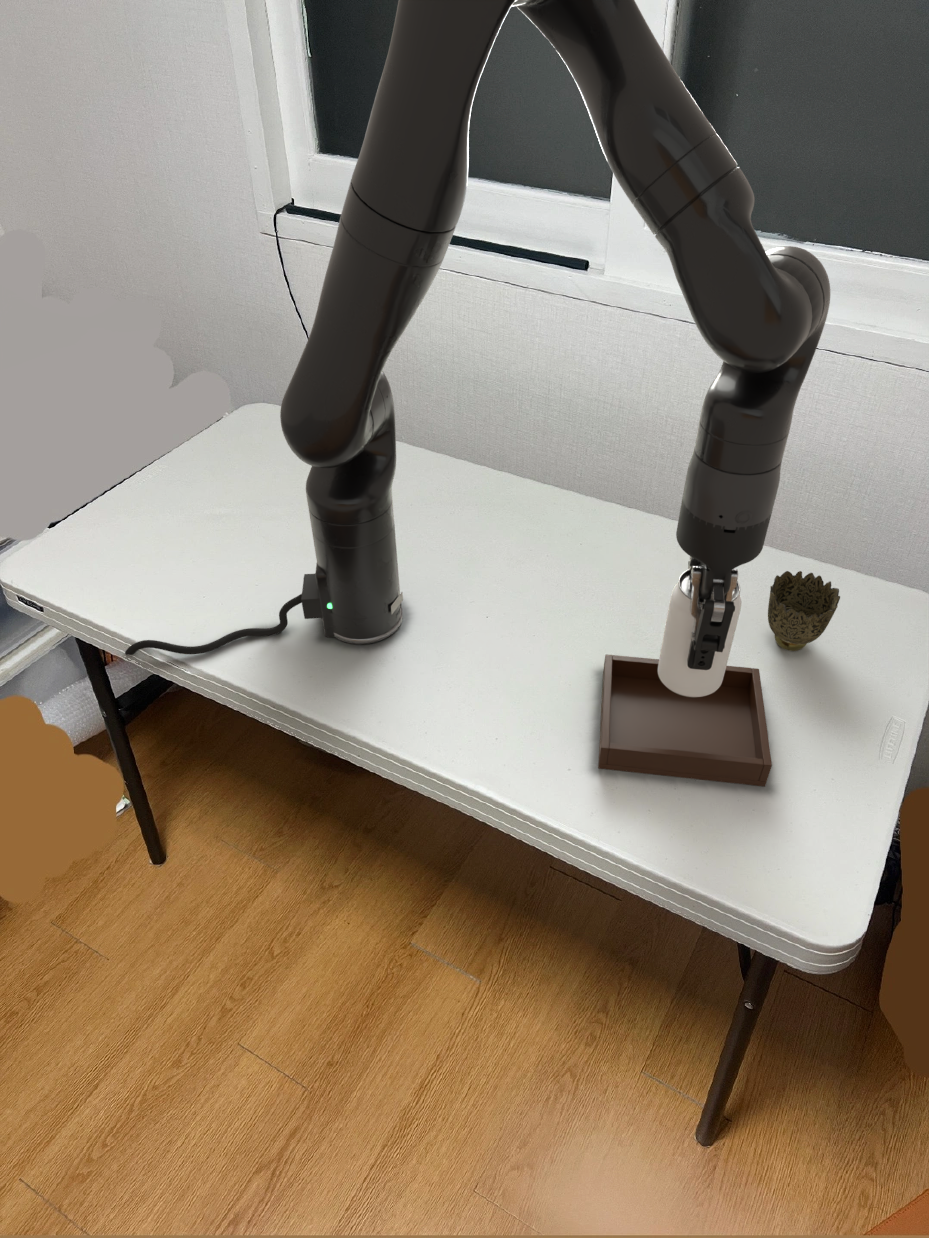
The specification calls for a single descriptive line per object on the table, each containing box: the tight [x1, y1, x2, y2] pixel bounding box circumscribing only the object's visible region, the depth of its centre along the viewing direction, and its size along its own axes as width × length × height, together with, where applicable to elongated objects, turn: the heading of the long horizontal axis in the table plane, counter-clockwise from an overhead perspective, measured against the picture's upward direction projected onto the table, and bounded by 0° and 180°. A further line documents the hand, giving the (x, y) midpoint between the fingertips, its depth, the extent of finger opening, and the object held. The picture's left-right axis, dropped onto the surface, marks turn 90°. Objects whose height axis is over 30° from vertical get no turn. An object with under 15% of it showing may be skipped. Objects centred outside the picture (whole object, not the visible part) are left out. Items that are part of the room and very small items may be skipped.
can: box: [658, 568, 742, 698], centre depth 86 cm, size 6×6×12 cm
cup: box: [767, 570, 841, 652], centre depth 102 cm, size 8×7×8 cm
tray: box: [597, 653, 773, 787], centre depth 94 cm, size 17×14×3 cm
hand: (697, 641), depth 87 cm, fingers closed on can, 6 cm apart
